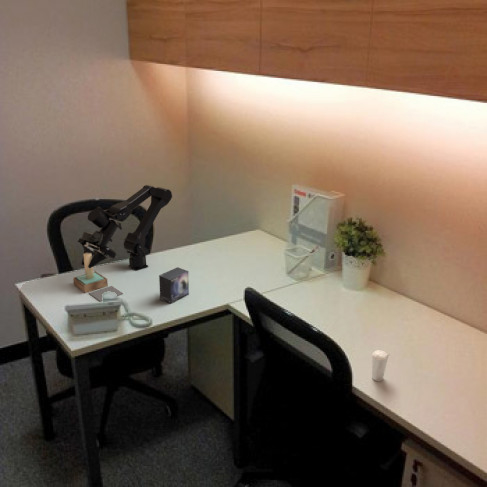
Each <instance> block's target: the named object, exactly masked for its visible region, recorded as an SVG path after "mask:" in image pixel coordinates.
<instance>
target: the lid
mask: <svg viewBox="0 0 487 487" xmlns="http://www.w3.org/2000/svg"><path fill="white" fill-rule="evenodd" d="M83 255H84V265H83V266H84V272H85V274H86V275H84V274H82V275H83V276H81V275H78V276H79V277H77V276H75V277H76V279H77V280H79V281H80V282H81V283H83V284H84V285H86V284H90V283H93V282H96V281H100V280H103V279H104V278H103V277H101V276H99V275H98V274H96V273H95V272H94V266H93V267H91V268H89V267H88V266H89V263H90V262H91V260H92V258H93V256H92V253H90V252H87V253H84V252H83Z"/></svg>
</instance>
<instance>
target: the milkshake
mask: <svg viewBox="0 0 487 487" xmlns="http://www.w3.org/2000/svg"><path fill="white" fill-rule="evenodd" d="M371 355H372V356H371V357H372V358H371V359H372V360H371V361H372V362H371V364H372V367H371V378H372V380H373V381H375V382H383V380H384V377H385V372H386V366H387V362H388V359H389V356H390V354H387V352H385V351H384V350H381V349H380V350H379V349H377V350H375V351H373V352H372V354H371Z"/></svg>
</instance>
